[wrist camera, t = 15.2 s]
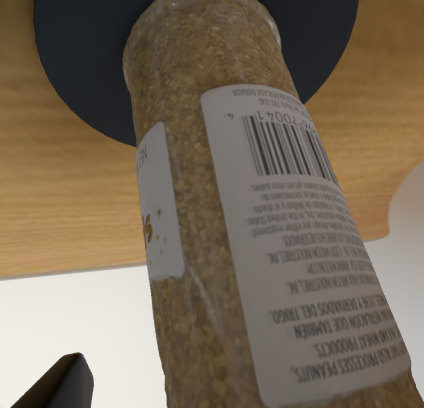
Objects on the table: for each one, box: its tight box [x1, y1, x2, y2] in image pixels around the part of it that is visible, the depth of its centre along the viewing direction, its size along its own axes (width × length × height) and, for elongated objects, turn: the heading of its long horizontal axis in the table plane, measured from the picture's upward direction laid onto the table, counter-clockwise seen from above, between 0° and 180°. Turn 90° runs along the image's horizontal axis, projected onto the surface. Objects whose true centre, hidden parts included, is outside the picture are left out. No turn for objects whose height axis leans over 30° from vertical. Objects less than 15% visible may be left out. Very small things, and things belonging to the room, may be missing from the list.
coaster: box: [33, 0, 359, 147], centre depth 10 cm, size 9×9×1 cm
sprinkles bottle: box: [123, 0, 424, 408], centre depth 6 cm, size 5×5×13 cm
